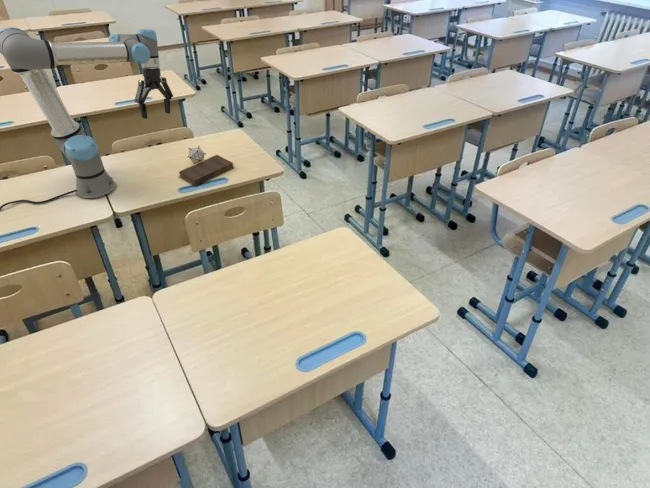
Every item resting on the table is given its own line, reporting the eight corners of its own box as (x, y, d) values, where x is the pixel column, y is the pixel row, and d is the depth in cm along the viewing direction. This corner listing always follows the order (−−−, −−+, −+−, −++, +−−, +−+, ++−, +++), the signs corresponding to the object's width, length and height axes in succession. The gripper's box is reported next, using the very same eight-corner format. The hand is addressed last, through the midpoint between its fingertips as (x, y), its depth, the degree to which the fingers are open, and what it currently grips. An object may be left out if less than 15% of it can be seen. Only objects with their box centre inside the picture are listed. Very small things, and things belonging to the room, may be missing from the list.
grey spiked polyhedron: (202, 170, 221) (203, 161, 212) (184, 165, 219) (185, 155, 210) (206, 155, 224) (208, 145, 215) (189, 149, 222) (190, 139, 213)
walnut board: (195, 186, 203) (194, 180, 201) (179, 176, 209) (178, 171, 207) (233, 168, 216) (232, 162, 214) (217, 159, 222) (216, 154, 220)
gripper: (133, 71, 190) (140, 121, 200) (178, 66, 209) (182, 112, 219) (121, 68, 193) (128, 118, 203) (166, 63, 212) (171, 109, 222)
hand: (156, 115), depth 211 cm, fingers open, 13 cm apart
